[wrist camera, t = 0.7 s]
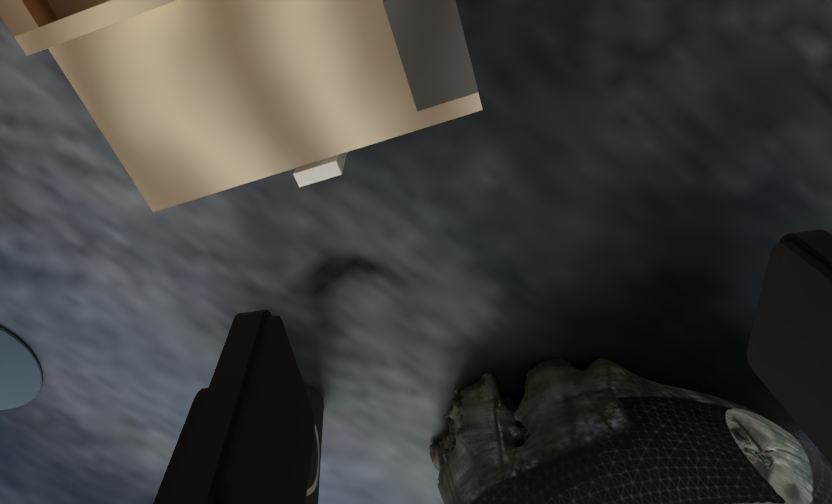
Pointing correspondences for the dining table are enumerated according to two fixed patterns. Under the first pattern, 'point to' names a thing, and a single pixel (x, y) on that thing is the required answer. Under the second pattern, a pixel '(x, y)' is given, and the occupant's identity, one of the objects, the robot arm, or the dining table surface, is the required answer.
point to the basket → (617, 445)
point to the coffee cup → (315, 445)
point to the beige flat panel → (249, 80)
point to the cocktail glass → (17, 372)
